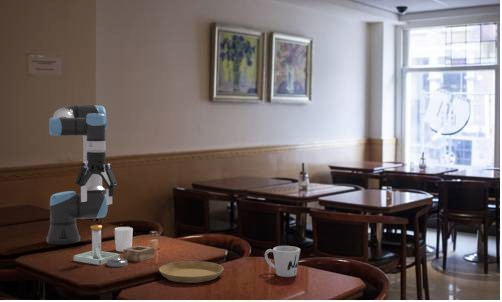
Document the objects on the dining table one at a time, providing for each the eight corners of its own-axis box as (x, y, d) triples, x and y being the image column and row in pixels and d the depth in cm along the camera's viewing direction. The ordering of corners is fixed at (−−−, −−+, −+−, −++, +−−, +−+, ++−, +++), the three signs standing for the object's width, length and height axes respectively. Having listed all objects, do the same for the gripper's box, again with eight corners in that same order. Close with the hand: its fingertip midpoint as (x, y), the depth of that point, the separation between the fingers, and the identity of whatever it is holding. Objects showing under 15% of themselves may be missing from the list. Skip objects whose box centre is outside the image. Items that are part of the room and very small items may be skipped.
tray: (73, 261, 255) (73, 255, 255) (94, 255, 266) (94, 250, 266) (100, 266, 249) (100, 260, 249) (120, 259, 259) (120, 254, 259)
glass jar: (88, 260, 256) (88, 226, 255) (96, 257, 260) (95, 224, 260) (97, 261, 254) (96, 227, 253) (105, 258, 258) (104, 225, 257)
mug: (291, 279, 232) (292, 253, 231) (257, 273, 240) (257, 248, 239) (304, 273, 241) (305, 247, 240) (271, 268, 248) (271, 243, 248)
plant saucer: (184, 265, 252) (184, 257, 252) (235, 274, 240) (235, 265, 240) (145, 279, 231) (145, 270, 231) (199, 289, 219) (199, 280, 219)
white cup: (128, 253, 272) (128, 230, 271) (111, 252, 273) (111, 229, 272) (135, 249, 279) (135, 227, 279) (119, 248, 281) (118, 226, 280)
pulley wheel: (103, 266, 248) (102, 259, 248) (116, 262, 255) (116, 255, 255) (118, 269, 244) (118, 262, 244) (131, 264, 251) (131, 258, 251)
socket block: (123, 260, 259) (123, 249, 259) (137, 255, 267) (137, 245, 267) (140, 262, 255) (140, 251, 255) (154, 258, 263) (154, 247, 263)
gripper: (66, 150, 257) (67, 201, 258) (113, 153, 245) (114, 206, 247) (79, 149, 264) (80, 199, 265) (126, 152, 252) (126, 204, 253)
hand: (96, 203), depth 256 cm, fingers open, 13 cm apart
